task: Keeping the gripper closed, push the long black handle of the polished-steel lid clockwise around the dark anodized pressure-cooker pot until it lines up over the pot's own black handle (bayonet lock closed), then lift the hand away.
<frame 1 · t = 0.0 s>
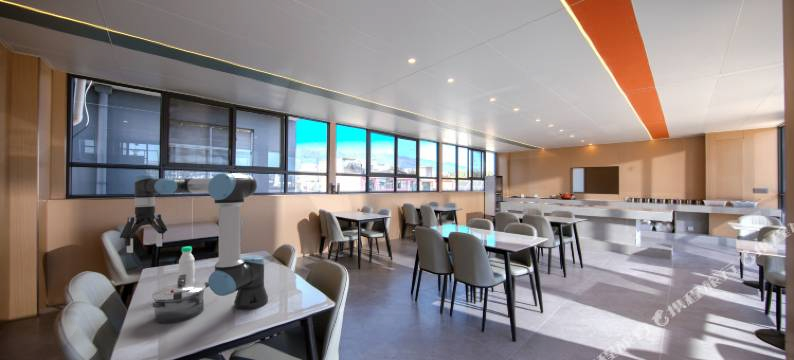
hand: (145, 249, 143), 28 cm above the table, fingers open, 13 cm apart
water bottle: (186, 292, 161), on the table
lid: (180, 286, 136), point 12 cm above the table, hinge at 45.0°
pot: (180, 314, 134), on the table
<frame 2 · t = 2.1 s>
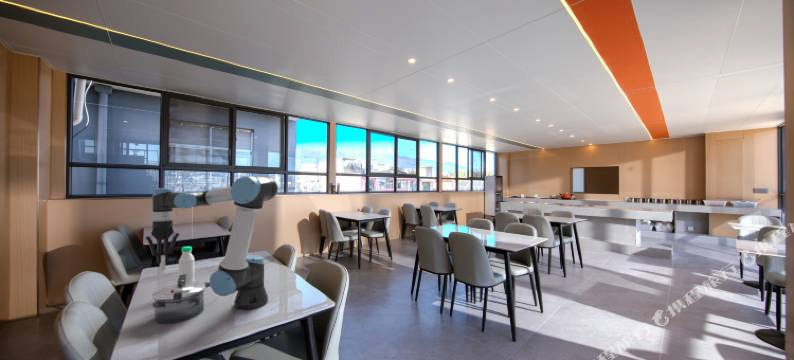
hand: (162, 269, 139), 19 cm above the table, fingers closed
nothing on the table moved.
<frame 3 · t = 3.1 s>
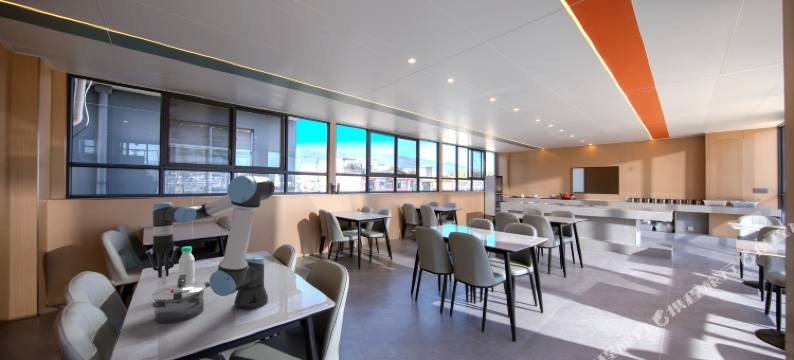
hand: (163, 283, 139), 12 cm above the table, fingers closed
nothing on the table moved.
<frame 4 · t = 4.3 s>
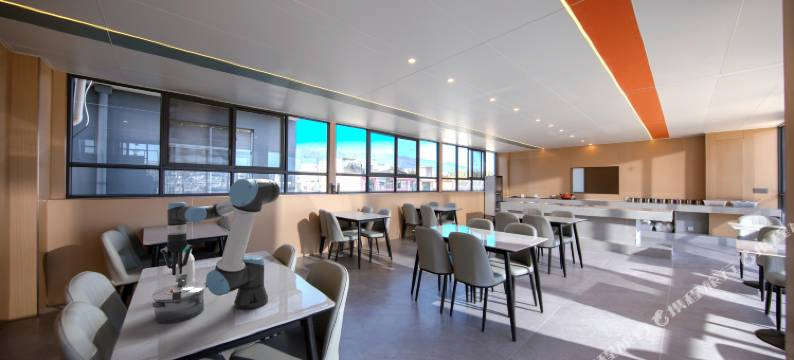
hand: (176, 281, 143), 12 cm above the table, fingers closed
lid: (180, 286, 136), point 12 cm above the table, hinge at 43.2°, touching gripper
everything else where it was.
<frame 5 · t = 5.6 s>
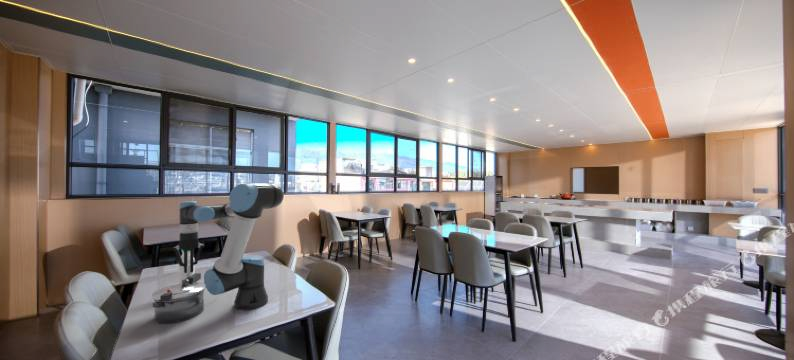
hand: (188, 278, 146), 12 cm above the table, fingers closed
lid: (182, 285, 136), point 12 cm above the table, hinge at 22.6°, touching gripper
everything else where it was.
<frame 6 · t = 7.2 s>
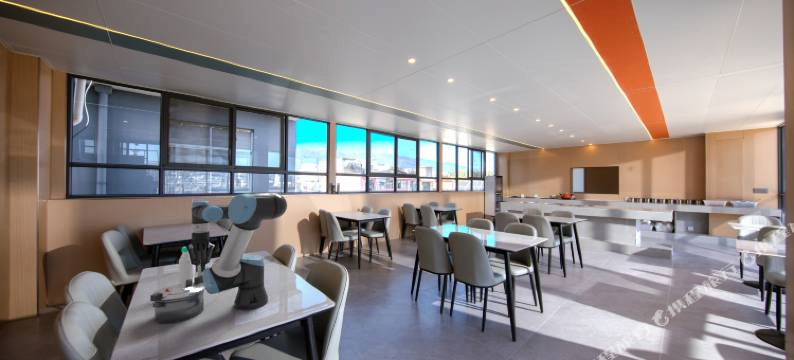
hand: (200, 278, 147), 12 cm above the table, fingers closed
lid: (184, 285, 136), point 12 cm above the table, hinge at -0.3°, touching gripper
everything else where it was.
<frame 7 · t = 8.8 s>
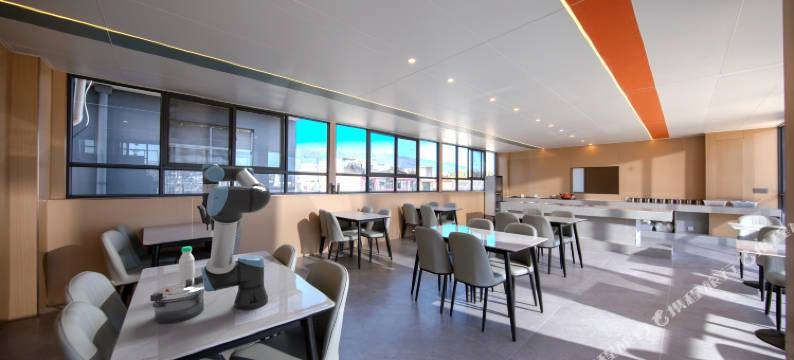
hand: (211, 236, 156), 32 cm above the table, fingers closed
lid: (184, 285, 136), point 12 cm above the table, hinge at -0.3°
everything else where it was.
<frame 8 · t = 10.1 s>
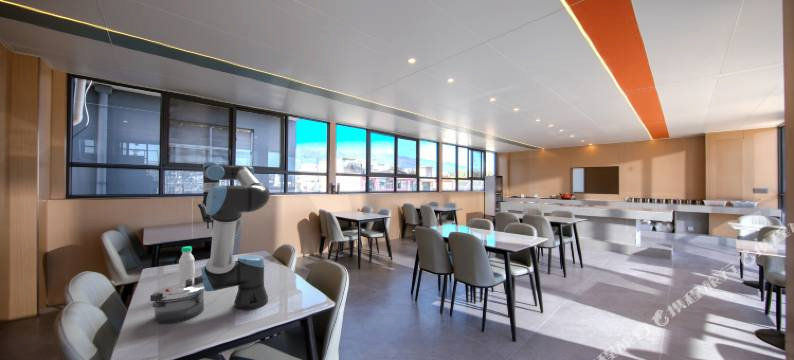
hand: (211, 234, 157), 32 cm above the table, fingers closed
nothing on the table moved.
at the end: lid at +0° (first picture: +45°); lid touching nothing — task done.
